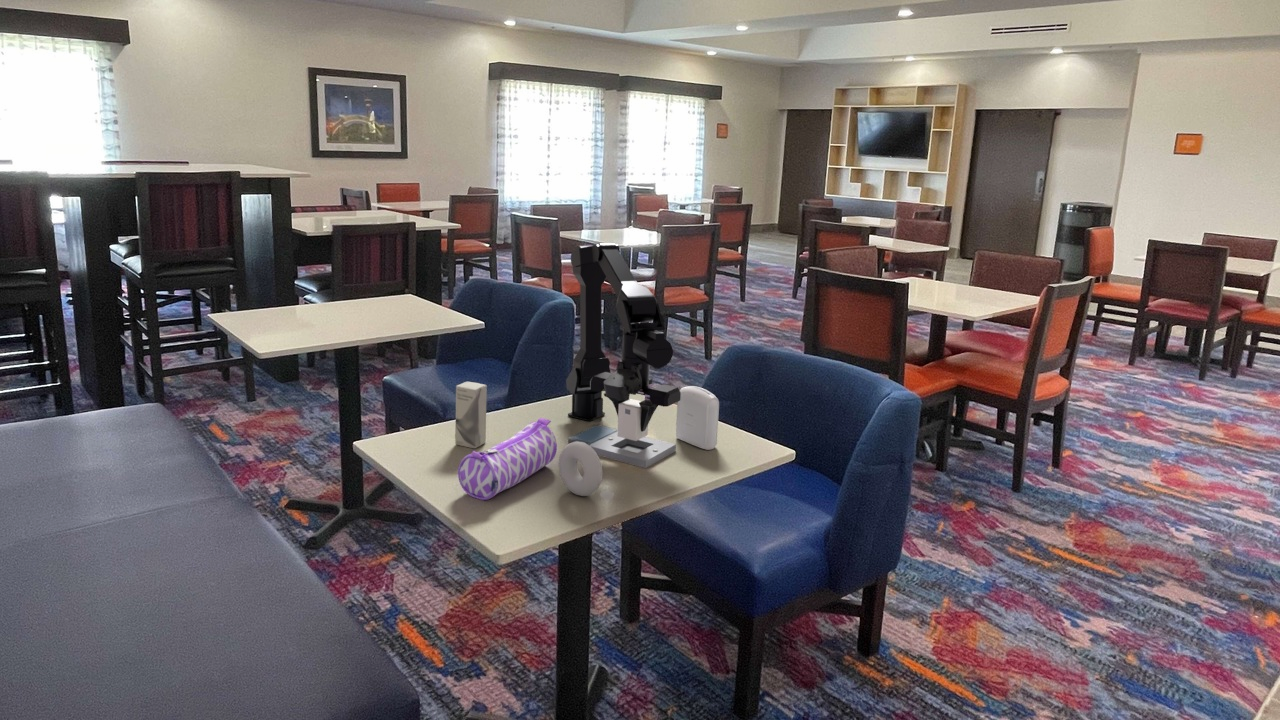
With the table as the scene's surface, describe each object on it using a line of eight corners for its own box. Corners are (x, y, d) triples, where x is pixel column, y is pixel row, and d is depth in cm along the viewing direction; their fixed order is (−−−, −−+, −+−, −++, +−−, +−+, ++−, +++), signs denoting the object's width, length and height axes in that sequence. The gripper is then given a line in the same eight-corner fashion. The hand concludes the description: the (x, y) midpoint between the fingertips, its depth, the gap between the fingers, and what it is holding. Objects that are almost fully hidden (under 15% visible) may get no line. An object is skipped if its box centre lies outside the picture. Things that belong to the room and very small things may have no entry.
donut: (605, 500, 148) (607, 447, 145) (591, 505, 146) (593, 452, 143) (568, 483, 155) (569, 433, 152) (554, 488, 152) (555, 437, 150)
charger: (617, 436, 170) (618, 403, 168) (629, 430, 174) (630, 398, 172) (635, 441, 168) (637, 408, 166) (647, 435, 172) (649, 402, 170)
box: (454, 445, 171) (453, 385, 168) (466, 438, 175) (465, 380, 172) (476, 449, 170) (475, 389, 166) (487, 442, 174) (487, 384, 170)
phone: (568, 441, 176) (568, 437, 176) (597, 428, 185) (597, 424, 185) (591, 447, 173) (591, 443, 173) (619, 433, 182) (620, 430, 182)
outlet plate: (588, 452, 170) (588, 444, 170) (619, 436, 180) (620, 429, 180) (645, 468, 163) (646, 460, 163) (675, 451, 173) (676, 443, 173)
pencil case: (494, 508, 143) (494, 457, 141) (451, 497, 147) (450, 447, 145) (560, 467, 163) (561, 421, 160) (521, 458, 166) (521, 413, 164)
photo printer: (672, 437, 181) (675, 383, 178) (687, 434, 184) (690, 380, 181) (704, 452, 173) (708, 395, 170) (719, 448, 176) (723, 392, 173)
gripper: (574, 355, 165) (573, 429, 169) (655, 371, 155) (651, 449, 159) (606, 345, 174) (604, 415, 178) (683, 360, 165) (679, 434, 169)
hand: (632, 428), depth 171 cm, fingers closed on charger, 4 cm apart
